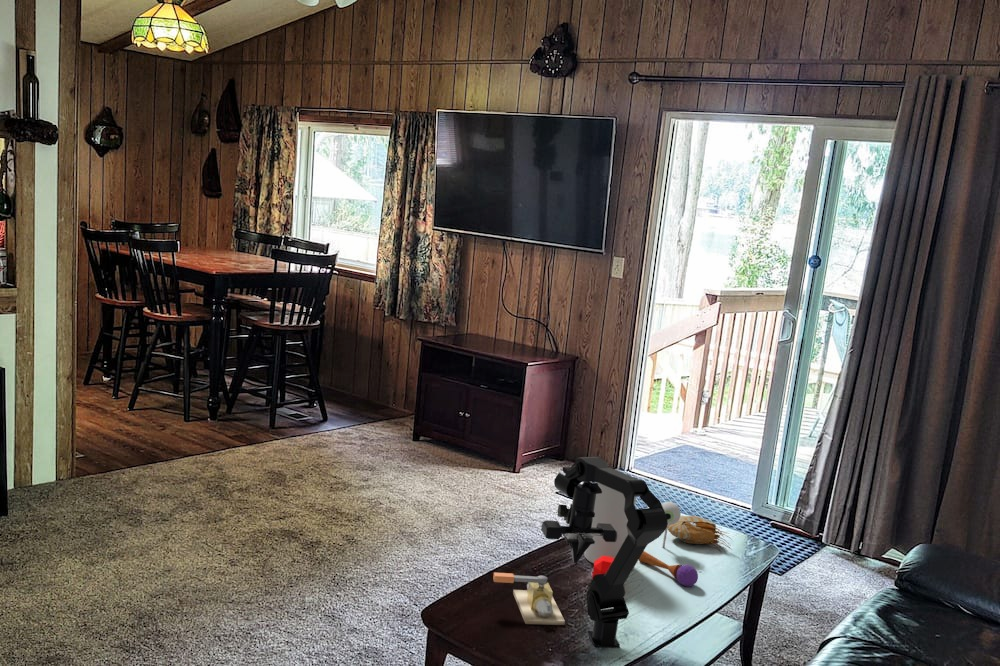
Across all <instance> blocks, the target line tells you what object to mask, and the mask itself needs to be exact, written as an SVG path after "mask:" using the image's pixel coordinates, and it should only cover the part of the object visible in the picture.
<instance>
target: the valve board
mask: <svg viewBox="0 0 1000 666" xmlns="http://www.w3.org/2000/svg"><path fill="white" fill-rule="evenodd" d="M512 590H513V591H512V594H513V596H514V599H515V601H516V604H517V606H518V609H519V611H520V614H521V616H522V619H523V621H524V624H525V625H548V626H549V625H553V626H554V625H555V626H561V625H562V626H565V624H566V620H565V619H564V617H563V615H562V613H561V610H560V609H559V606H558V604H557V603H556V601H555V599H554V596H553V595H552V601H551V603H552V610H553V613H552V615H551V616H550V617H549V618H547V619H543V618H541V617H540V616H539V614H538V613H536V612H535V610H531V608H530V606H529V604H528V601H527V596H528V594H527V590H528V589H524V590H523V589H512Z"/></svg>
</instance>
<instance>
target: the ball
mask: <svg viewBox="0 0 1000 666" xmlns="http://www.w3.org/2000/svg"><path fill="white" fill-rule="evenodd" d="M613 560H614V558H613V557H608V556H602V557H600V558H599V559H597V560H596V561H595V563H593V571H592V576H591V580H592V579H593V577H594V575H597V574H604V573H606V572H607V571H608V569H609V567H610V565H611V563H612V562H613Z"/></svg>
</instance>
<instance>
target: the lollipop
mask: <svg viewBox="0 0 1000 666" xmlns="http://www.w3.org/2000/svg"><path fill="white" fill-rule="evenodd" d="M661 504H662V507H663V509H664V511H665V513H666V516H667V521H668V522H667V523H668V525H673V524H675V523H676V522H678V520H679V519H680V516H682V515H681V509H680V507H679V506H678V505H677V504H676V503H674V502H671V501H665V502H663V503H661ZM668 525H667V528H666V530H665V531H664V534H663V542H662V546H661V548H663V549H664V548H665V546H666V540H667V533H668Z"/></svg>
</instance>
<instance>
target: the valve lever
mask: <svg viewBox="0 0 1000 666" xmlns="http://www.w3.org/2000/svg"><path fill="white" fill-rule="evenodd" d="M492 575H493V577H492V578H493V579H492V580H493V582H494V583H508V584H509V583H510V584H514V582H517V583H519V582H520V583H528V582H533V583H539V584H543V585H544V584H547V583H548V577H547V576H545V575H542V574H541V575H538V576H531V575H518V574H517V575H515V574H514V573H509V572H508V573H507V572H493V574H492Z"/></svg>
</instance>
